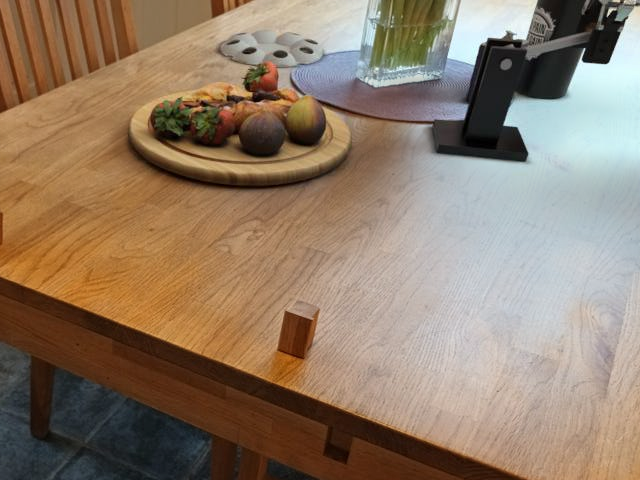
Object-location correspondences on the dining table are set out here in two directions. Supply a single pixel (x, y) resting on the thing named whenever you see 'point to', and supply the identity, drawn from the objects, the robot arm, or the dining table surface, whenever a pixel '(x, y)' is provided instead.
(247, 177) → the wooden plate
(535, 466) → the dining table surface
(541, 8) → the water bottle
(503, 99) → the black stand
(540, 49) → the lever
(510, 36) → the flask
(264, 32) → the round palette
